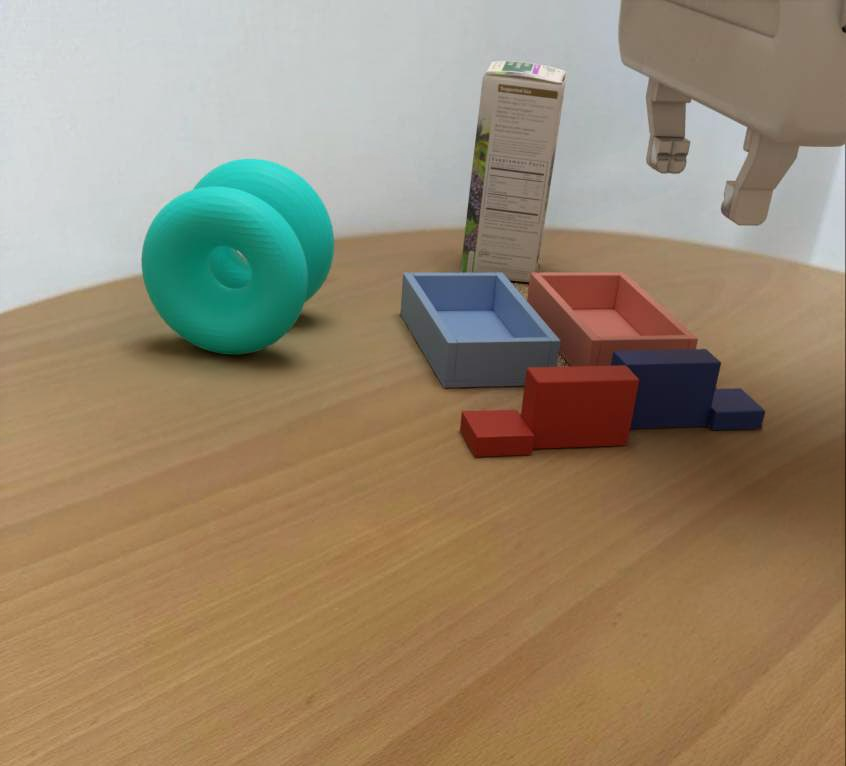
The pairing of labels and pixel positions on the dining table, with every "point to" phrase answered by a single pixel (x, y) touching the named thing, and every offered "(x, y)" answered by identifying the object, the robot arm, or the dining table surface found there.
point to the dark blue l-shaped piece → (685, 392)
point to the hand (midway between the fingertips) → (700, 194)
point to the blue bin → (476, 328)
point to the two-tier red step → (558, 412)
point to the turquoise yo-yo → (238, 256)
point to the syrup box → (512, 168)
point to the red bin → (603, 316)
